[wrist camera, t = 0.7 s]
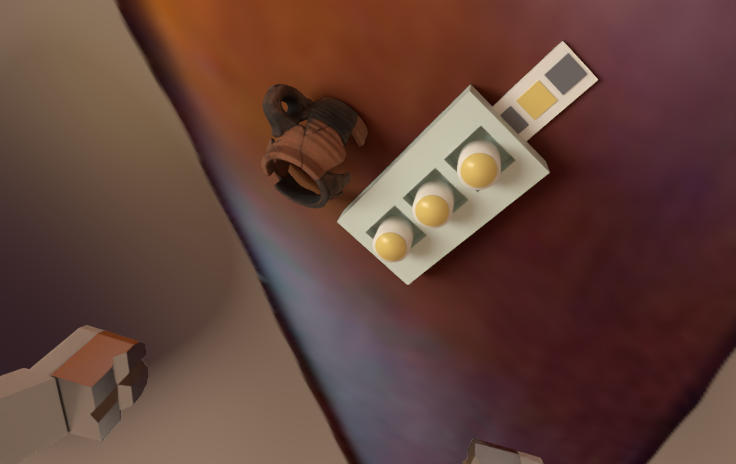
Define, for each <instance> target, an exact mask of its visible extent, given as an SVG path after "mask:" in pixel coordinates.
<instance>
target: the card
mask: <svg viewBox="0 0 736 464" xmlns="http://www.w3.org/2000/svg"><path fill="white" fill-rule="evenodd" d="M597 80H598V79H597V78H596V77H595V75H594V74H593V73H592V72H591V71H590V70H589V69H588V68H587V67H586V66H585V65H584V63H583V62H582V61H581V60H580V59H579V58H578V57H577V56H576V55H575V54H574V52H573V51H572V50H571V49H570V48H569V47H568V46H567V45H566V44H565V43H564V42H563V41H562V42H561V43H560V44H558V45H557V46H556V47H555V48H554V49H553V50H552V51H551V52H550V53H549V54H548V55H547V56H546V57H545V58H544V59H542V60H541V61H540V62H539V63H538V64H537V65H536V66H535V67H534V68H533V69H532V70H531V71H530V72H529V73H528V74H526V75H525V76H524V77H523V78H522V79H521V80H520V81H519V82H518V83H517V84H516V85H515V86H514V87H513V88H512V89H510V90H509V91H508V92H507V93H506V94H505V95H504V96H503V97H502V98H501V99H500V100H499V101H498V102H497V103H495V104H494V105H493V106H492V108H493V109H494V110H495V111H496V112H497V113H498V114H499V115H500V116H501V117H502V118H503V119H504V120H505V121H506V122H507V123H508V124H509V125H510V126H511V127H512V128H513V129H514V130H515V131H516V132H517V133H518V134H519V135H520V136H521V137H522V138H523V139H524V140H525V141H527V140H528V139H530V138H531V137H532V136H533V135H534V134H535V133H537V132H538V131H539V130H540V129H541V128H542V127H544V126H545V125H546V124H547V123H548V122H549V121H551V120H552V119H553V118H554V117H555V116H556V115H558V114H559V113H560V112H561V111H562V110H563V109H565V108H566V107H567V106H568V105H569V104H571V103H572V102H573V101H574V100H575V99H576V98H578V97H579V96H580V95H581V94H582V93H583V92H585V91H586V90H587V89H588V88H589V87H590V86H592V85H593V84H594V83H595V82H596V81H597Z"/></svg>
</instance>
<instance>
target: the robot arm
mask: <svg viewBox="0 0 736 464" xmlns="http://www.w3.org/2000/svg"><path fill="white" fill-rule="evenodd" d="M145 355H146V349H145V344H143V343H141V342H138V341H135V340H132V339H129V338H126V337H123V336H120V335H117V334H114V333H111V332H107V331H104V330H101V329H97V328H94V327H91V326H88V325H86V326H84V327H81V328H79V329H77V331H75V332H74V333H73V334H71V335H70V336H69V337H68V338H67V339H65V340H64V341H63V342H62V343H61V344H59V345H58V346H57V347H56V348H55V349H53V350H52V351H51V352H50V353H49V354H47V355H46V356H45V357H44V358H43V359H42V360H40V361H39V362H38V363H37V364H35V365H34V366H33V367H32V368H31V369H25V368H23V369H20V370H17V371H14V372H11V373H8V374H5V375H3V376H0V464H17V463H18V462H20V461H22V460H24V459H26V458H27V457H29V456H31V455H33V454H35V453H36V452H38V451H40V450H42V449H44V448H45V447H47V446H49V445H51V444H52V443H54V442H56V441H58V440H60V439H62V438H63V437H65V436H67V435H68V433H71V434H75V435H78V436H82V437H85V438H89V439H92V440H95V441H99V442H102V441H103V440H104V438H105V437H106V436H107V435H108V434H109V433H110V432H111V430H112V429H113V428H114V427H115V426H116V425H117V423H118V422H119V421H120V420H121V410H123V409H125V408H127V407H129V406H131V405H133V404H134V403H135V402H136V401H137V399H138V398H139V397H140V396H141V394H142V392H143V390H144V388H145V386H146V384H147V378H148V367H147V366H146V364H145V363H144V362H143V360H142V358H143V357H144V356H145ZM462 464H543V461H542V460H541V458H540V457H536V456H533V455H529V454H526V453H522V452H519V451H516V450H513V449H510V448H506V447H502V446H499V445H495V444H492V443H488V442H484V441H481V440H477V439H473V440H472V441H471V443H470V445H469V448H468V459H467V460H465V461H463V463H462Z"/></svg>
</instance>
